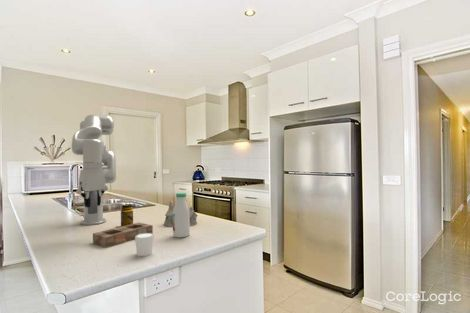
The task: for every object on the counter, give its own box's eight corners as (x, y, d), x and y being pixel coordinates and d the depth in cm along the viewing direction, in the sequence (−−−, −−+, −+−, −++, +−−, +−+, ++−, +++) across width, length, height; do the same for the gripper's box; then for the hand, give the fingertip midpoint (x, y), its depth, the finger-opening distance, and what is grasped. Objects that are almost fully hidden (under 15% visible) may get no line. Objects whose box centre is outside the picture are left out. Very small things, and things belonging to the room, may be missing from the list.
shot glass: (138, 250, 102) (138, 233, 102) (155, 249, 102) (155, 232, 102) (132, 257, 95) (132, 238, 95) (151, 256, 96) (151, 237, 96)
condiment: (135, 227, 136) (135, 205, 136) (117, 230, 131) (117, 206, 131) (132, 224, 142) (132, 203, 142) (115, 227, 137) (115, 204, 137)
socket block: (92, 242, 112) (92, 233, 112) (138, 230, 131) (138, 222, 131) (106, 247, 105) (106, 237, 105) (153, 233, 124) (153, 225, 124)
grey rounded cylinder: (85, 213, 117) (85, 187, 117) (94, 211, 120) (94, 186, 120) (90, 214, 115) (90, 187, 114) (99, 212, 118) (99, 186, 118)
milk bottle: (192, 233, 124) (192, 192, 124) (184, 238, 116) (184, 194, 117) (178, 232, 126) (178, 191, 126) (169, 237, 119) (169, 194, 119)
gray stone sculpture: (160, 223, 143) (161, 197, 143) (185, 220, 154) (187, 195, 154) (174, 231, 132) (176, 202, 131) (200, 226, 143) (202, 199, 143)
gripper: (105, 165, 126) (106, 202, 126) (68, 166, 112) (68, 208, 113) (114, 165, 122) (114, 204, 122) (76, 167, 108) (77, 210, 108)
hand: (92, 205), depth 117 cm, fingers closed on grey rounded cylinder, 4 cm apart
